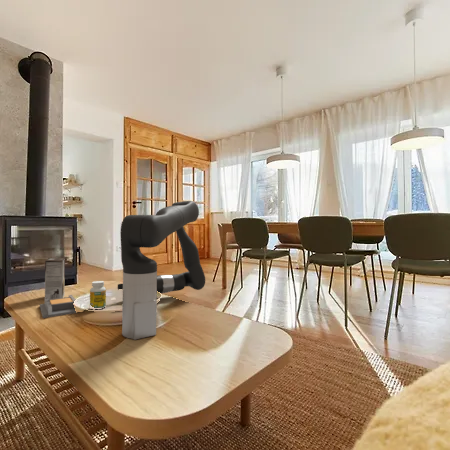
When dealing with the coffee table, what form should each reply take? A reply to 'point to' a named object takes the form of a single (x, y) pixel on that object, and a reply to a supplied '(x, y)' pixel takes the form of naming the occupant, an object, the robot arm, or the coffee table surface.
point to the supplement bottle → (98, 295)
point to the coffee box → (54, 278)
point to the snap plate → (60, 301)
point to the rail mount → (57, 308)
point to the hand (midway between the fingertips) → (120, 289)
